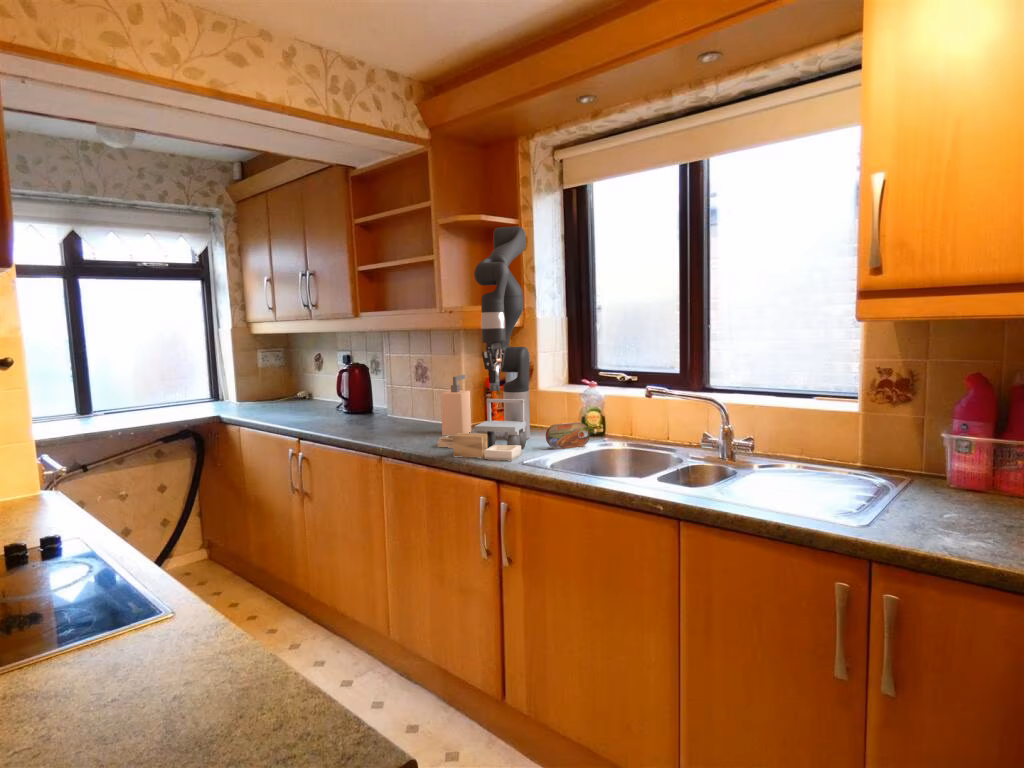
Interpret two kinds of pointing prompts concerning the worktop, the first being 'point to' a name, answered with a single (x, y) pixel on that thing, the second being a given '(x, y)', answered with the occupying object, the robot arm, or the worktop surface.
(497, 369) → the pin
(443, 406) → the soap dispenser
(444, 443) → the pin block
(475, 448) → the block
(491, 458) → the tray
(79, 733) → the worktop surface
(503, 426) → the trolley
